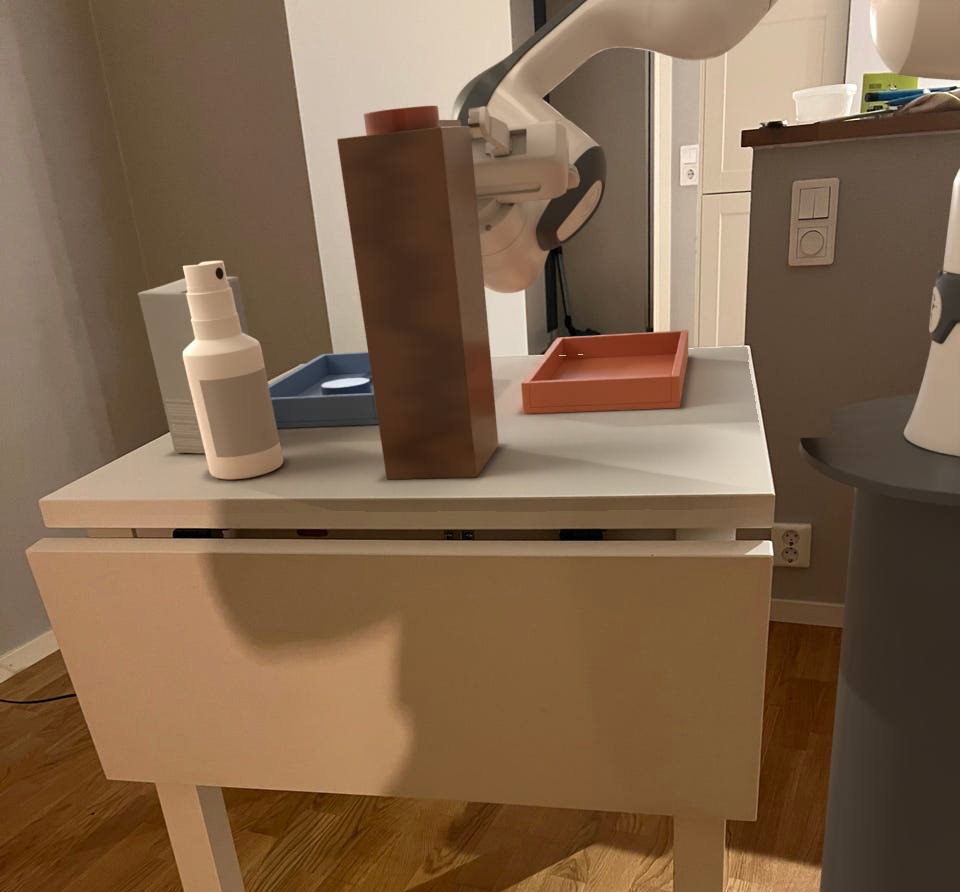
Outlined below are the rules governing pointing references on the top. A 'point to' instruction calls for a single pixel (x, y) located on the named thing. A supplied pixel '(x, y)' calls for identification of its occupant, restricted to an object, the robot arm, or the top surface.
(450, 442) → the tall brown block
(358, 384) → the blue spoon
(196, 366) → the spray bottle
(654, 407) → the terracotta tray
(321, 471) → the top surface
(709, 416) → the top surface
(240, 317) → the cosmetic box
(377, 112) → the terracotta spoon
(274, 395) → the blue tray
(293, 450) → the top surface
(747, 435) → the top surface
